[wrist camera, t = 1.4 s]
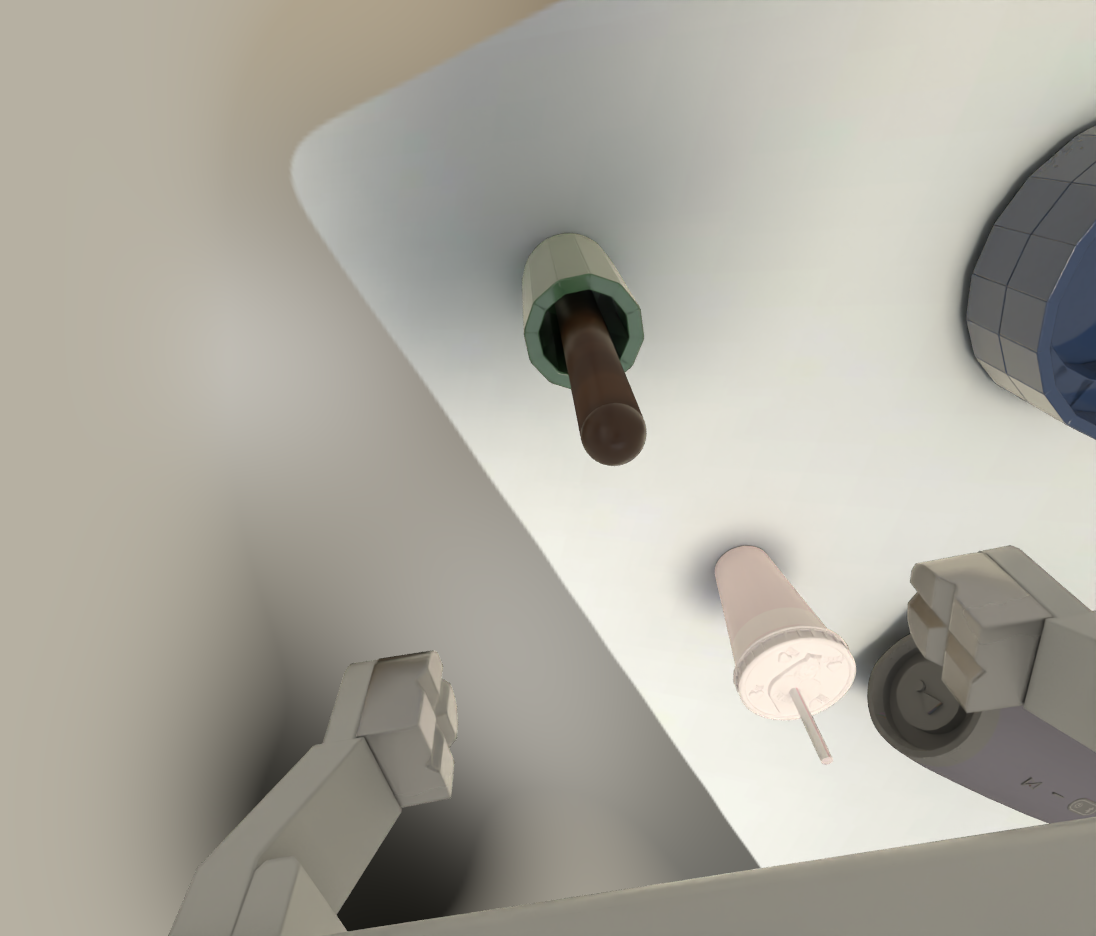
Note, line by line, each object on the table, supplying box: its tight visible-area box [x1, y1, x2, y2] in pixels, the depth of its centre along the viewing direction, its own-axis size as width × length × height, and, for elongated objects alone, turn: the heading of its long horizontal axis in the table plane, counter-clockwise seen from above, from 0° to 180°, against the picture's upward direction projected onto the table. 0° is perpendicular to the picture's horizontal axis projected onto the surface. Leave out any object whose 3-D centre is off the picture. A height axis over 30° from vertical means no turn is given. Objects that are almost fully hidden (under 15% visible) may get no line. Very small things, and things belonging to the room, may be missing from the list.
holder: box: [522, 233, 644, 389], centre depth 29 cm, size 5×5×9 cm
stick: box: [555, 290, 646, 466], centre depth 24 cm, size 2×2×18 cm
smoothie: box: [715, 546, 856, 765], centre depth 37 cm, size 6×6×14 cm
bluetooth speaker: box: [867, 634, 1096, 824], centre depth 45 cm, size 23×9×10 cm, turn 59°
